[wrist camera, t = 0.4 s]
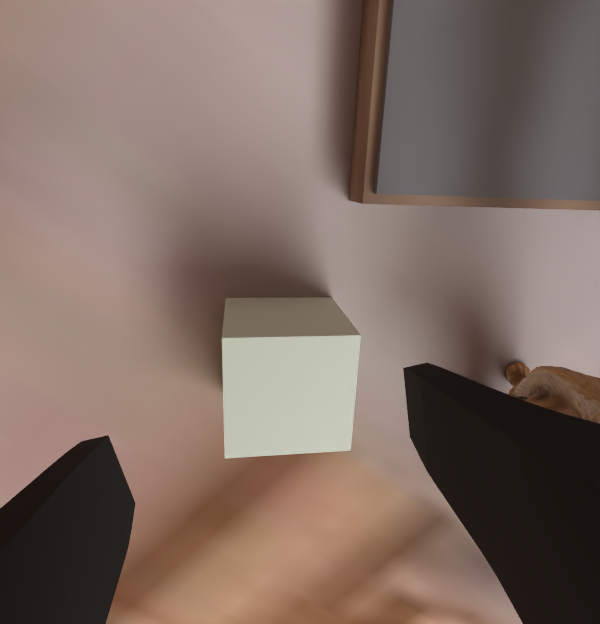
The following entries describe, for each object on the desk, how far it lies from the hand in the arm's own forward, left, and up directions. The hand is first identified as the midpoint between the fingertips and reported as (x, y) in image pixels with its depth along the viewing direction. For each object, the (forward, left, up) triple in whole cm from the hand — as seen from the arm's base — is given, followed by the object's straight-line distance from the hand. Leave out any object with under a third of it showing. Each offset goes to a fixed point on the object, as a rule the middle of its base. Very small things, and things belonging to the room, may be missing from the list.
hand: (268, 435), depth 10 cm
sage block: (-1, +2, -10) cm, 10 cm away
